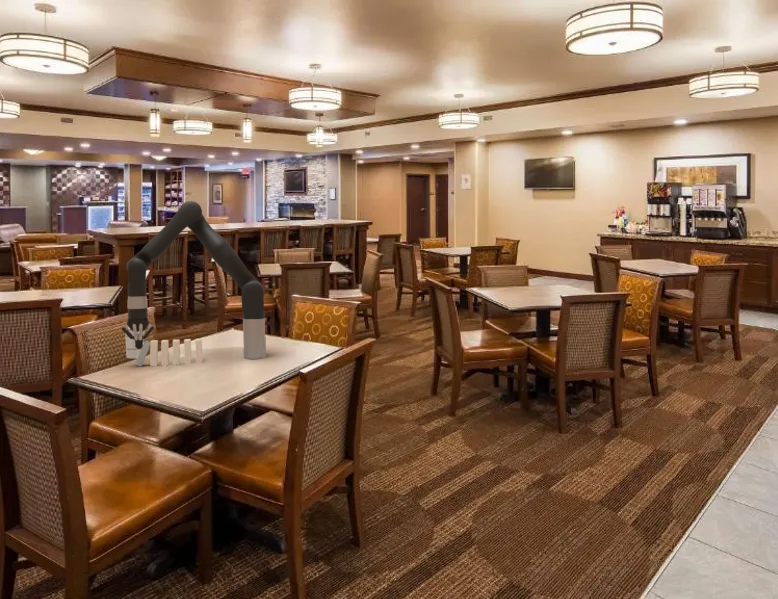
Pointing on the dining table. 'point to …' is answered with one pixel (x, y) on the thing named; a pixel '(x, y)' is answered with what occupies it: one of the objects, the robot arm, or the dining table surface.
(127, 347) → the syrup box
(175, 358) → the domino
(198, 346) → the domino
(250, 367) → the dining table surface
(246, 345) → the robot arm
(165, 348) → the domino
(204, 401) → the dining table surface
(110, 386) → the dining table surface
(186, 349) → the domino
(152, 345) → the domino
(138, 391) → the dining table surface
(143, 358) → the domino
